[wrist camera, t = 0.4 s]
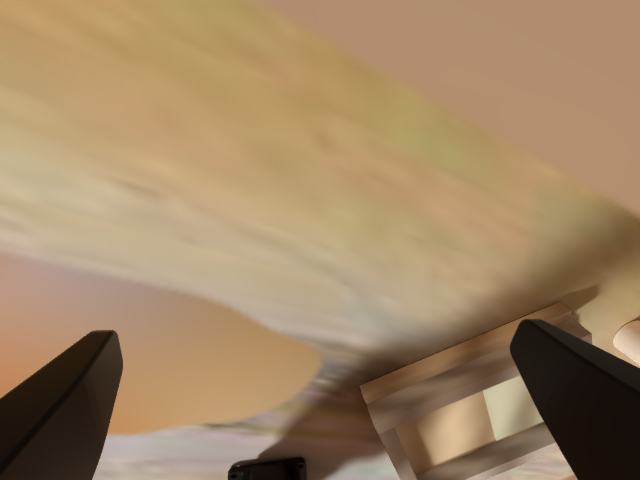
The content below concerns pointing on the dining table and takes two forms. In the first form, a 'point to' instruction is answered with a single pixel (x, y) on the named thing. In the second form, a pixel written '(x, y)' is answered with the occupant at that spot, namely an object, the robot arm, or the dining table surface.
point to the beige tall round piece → (629, 340)
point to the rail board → (464, 408)
